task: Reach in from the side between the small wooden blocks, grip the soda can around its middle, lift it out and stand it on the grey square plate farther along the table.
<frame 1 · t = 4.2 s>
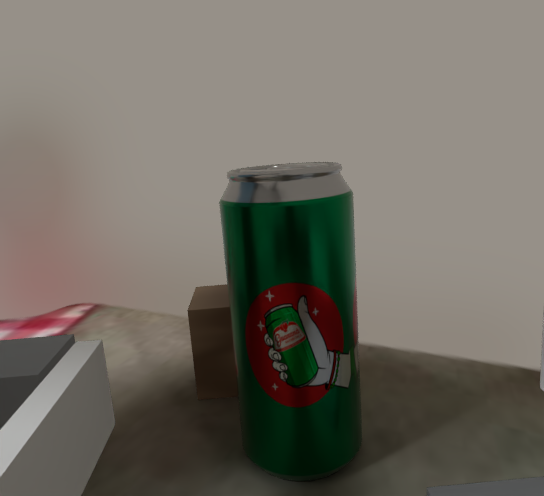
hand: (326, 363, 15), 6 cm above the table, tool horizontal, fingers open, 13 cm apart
soda can: (302, 453, 22), on the table
walnut block: (237, 379, 28), on the table
slate grey block: (30, 461, 22), on the table
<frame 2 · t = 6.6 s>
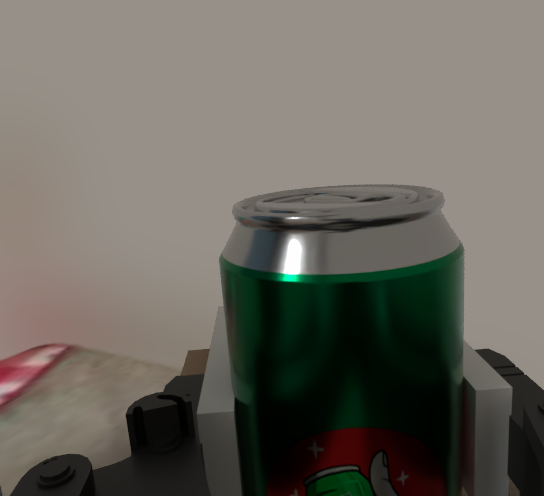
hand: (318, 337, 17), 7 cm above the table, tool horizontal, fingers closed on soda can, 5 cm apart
walnut block: (246, 484, 20), on the table
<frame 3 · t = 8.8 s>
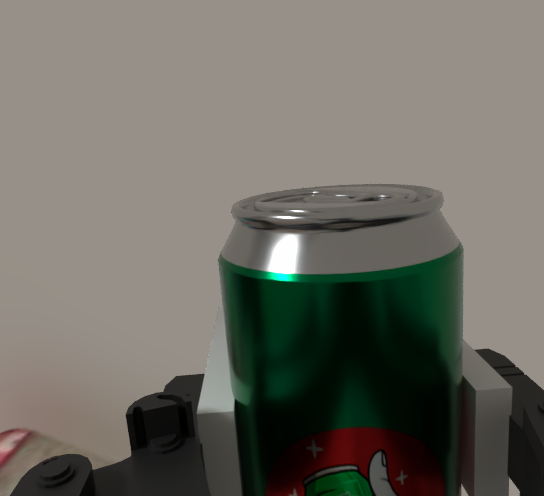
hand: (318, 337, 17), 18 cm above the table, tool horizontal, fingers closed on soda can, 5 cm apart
when the fingers open (9 cm above the table, at t = 11.1 s): soda can drops 1 cm, resting on grey square plate.
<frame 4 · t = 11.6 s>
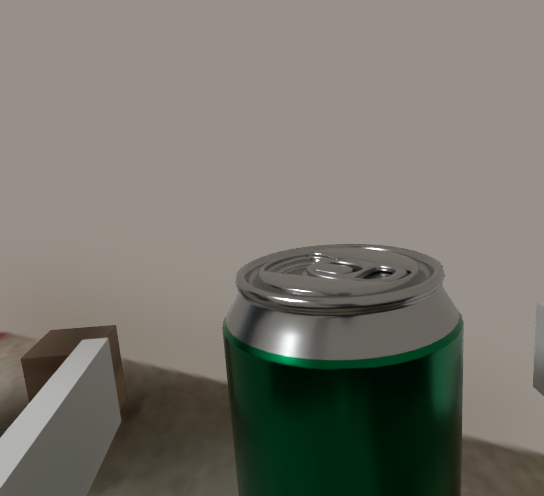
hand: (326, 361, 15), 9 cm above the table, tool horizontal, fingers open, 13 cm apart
walnut block: (85, 418, 30), on the table
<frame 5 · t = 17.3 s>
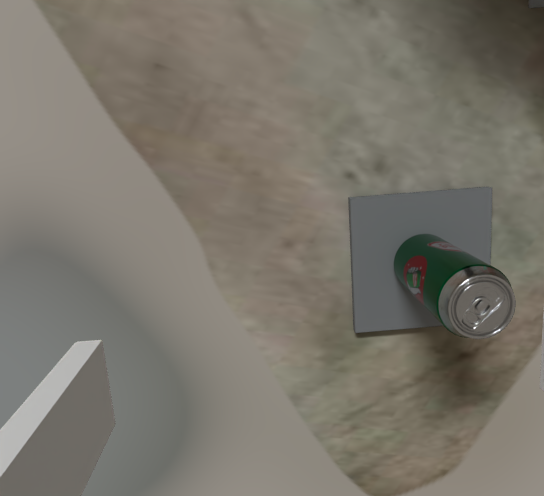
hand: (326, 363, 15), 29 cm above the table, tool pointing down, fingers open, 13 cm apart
soda can: (420, 260, 44), point 1 cm above the table, touching grey square plate
grey square plate: (418, 260, 44), on the table
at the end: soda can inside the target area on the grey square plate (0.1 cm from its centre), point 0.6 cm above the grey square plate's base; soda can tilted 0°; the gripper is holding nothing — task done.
